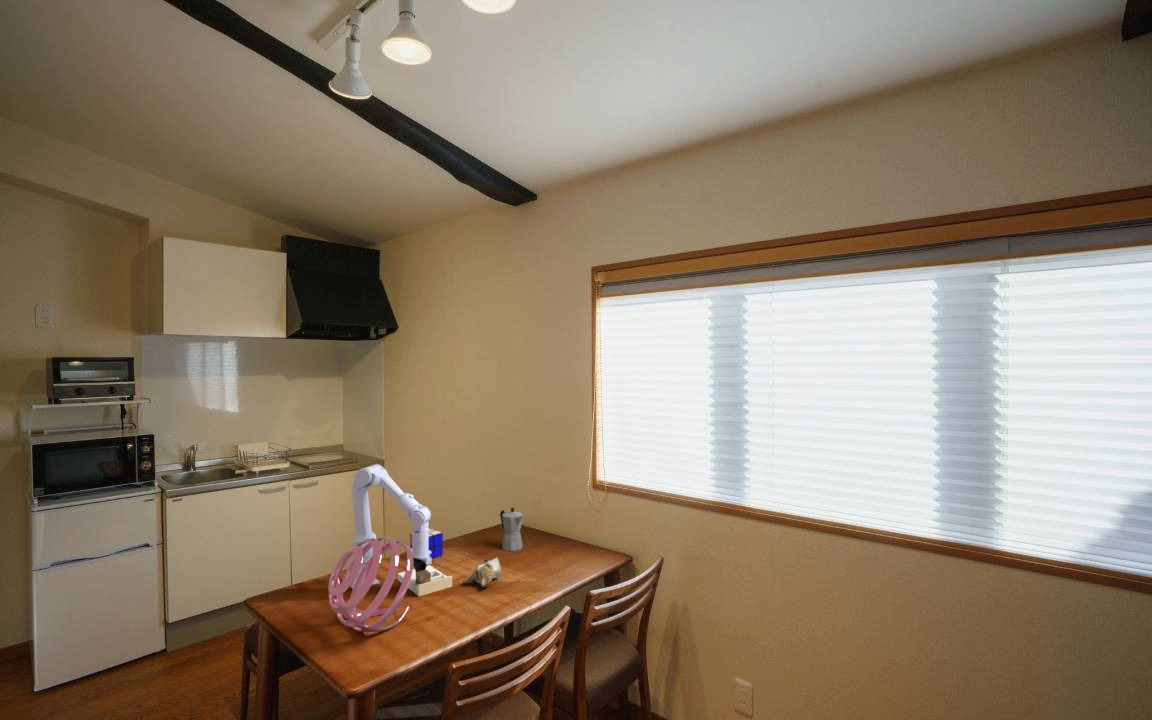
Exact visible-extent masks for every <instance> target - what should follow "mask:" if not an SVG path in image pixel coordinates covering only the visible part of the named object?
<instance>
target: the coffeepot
mask: <svg viewBox="0 0 1152 720" xmlns="http://www.w3.org/2000/svg"><path fill="white" fill-rule="evenodd" d="M514 510H515V508H514V507H510V511H508V510H505V509H502V510H501V511H500V513H499V516H500V521H501V522H500V523H501V527H502V528H503V529H504V533H503V539H502V545H501V548H502V550H503V551H507V552H517V551H520V550H521V549H523V547H524V546H523V541H522V535H521V534H522V533H521V530H522V529H521V528H522V523H523V516H524V514H523V513H522V512H521V511H514Z"/></svg>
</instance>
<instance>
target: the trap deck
mask: <svg viewBox="0 0 1152 720" xmlns="http://www.w3.org/2000/svg"><path fill="white" fill-rule="evenodd" d="M425 570H427V571H429V572H430V573H431V581H430V582H427V583H423V584H420V585H417V584H416V571H415V568H414V569H413V571H412V576H411V579H410V583H409V586H408V588H407V589H409V590H410V591H412V593H414V594H415V595H416V596H417V597H421V596H426V595H428V594H431V593H435V592H438V591H442V590H445V589H448V588H451V587H453V576H452V575H448V576H447V575H446V574H444V573H442V572H441V571H439V570H438V569H436V568H435V567H434V566H432V565H431V564H428V565H427V567H426V569H425ZM404 575H405V571H402V572H398V573H397V581H398V582H400V583H401V584H402V581H403V578H404Z"/></svg>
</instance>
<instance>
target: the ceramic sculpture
mask: <svg viewBox="0 0 1152 720" xmlns="http://www.w3.org/2000/svg"><path fill="white" fill-rule="evenodd" d="M501 569H502V567H501V565H500V561H499V557H495V558H493V559H490V560H489V559H484V560H483V561H482V563H480V564H478V565H477V566H476V567H475V569H474V571H473V572H471V573H470V574H468V576H467V577H466V578H465V579H464V580H462V582H463V583H466V584H472V583H474V582H475V581H476V582H477V583H478V584H480V587H481V588H486V587H488V586H489V585H491V583H492V581H493V579H499V578H500V576H501V573H502V570H501Z"/></svg>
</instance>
